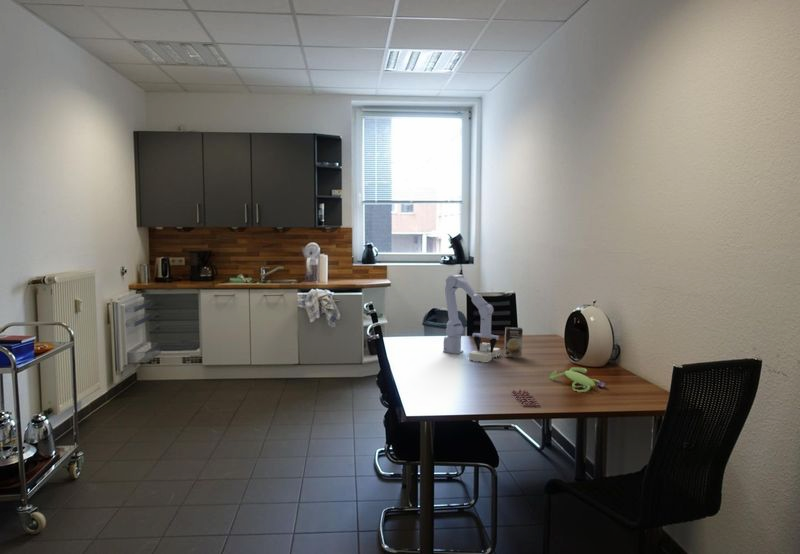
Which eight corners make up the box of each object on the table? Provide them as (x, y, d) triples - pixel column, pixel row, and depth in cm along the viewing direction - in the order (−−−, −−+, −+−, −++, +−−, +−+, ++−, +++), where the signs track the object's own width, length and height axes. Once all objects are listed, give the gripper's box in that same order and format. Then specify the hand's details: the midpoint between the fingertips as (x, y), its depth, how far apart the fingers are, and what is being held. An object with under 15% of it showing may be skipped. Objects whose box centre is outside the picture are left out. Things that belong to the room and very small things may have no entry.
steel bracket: (479, 358, 301) (479, 344, 300) (482, 356, 305) (483, 342, 304) (486, 359, 299) (486, 344, 298) (489, 357, 303) (490, 343, 303)
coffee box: (504, 357, 303) (505, 328, 302) (503, 355, 310) (504, 326, 308) (521, 358, 302) (522, 329, 301) (520, 355, 309) (521, 327, 307)
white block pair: (469, 360, 296) (469, 352, 296) (483, 353, 313) (483, 346, 313) (487, 362, 291) (487, 355, 291) (499, 355, 309) (500, 348, 308)
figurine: (578, 375, 269) (578, 364, 269) (614, 391, 244) (614, 378, 243) (544, 378, 264) (545, 366, 264) (578, 394, 239) (578, 381, 238)
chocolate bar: (522, 408, 219) (522, 403, 219) (511, 394, 238) (511, 389, 238) (540, 408, 220) (541, 403, 219) (528, 394, 238) (528, 389, 238)
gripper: (470, 326, 301) (469, 351, 302) (496, 329, 294) (495, 354, 295) (475, 324, 307) (474, 348, 308) (500, 327, 300) (499, 351, 301)
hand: (485, 351), depth 302 cm, fingers open, 7 cm apart
